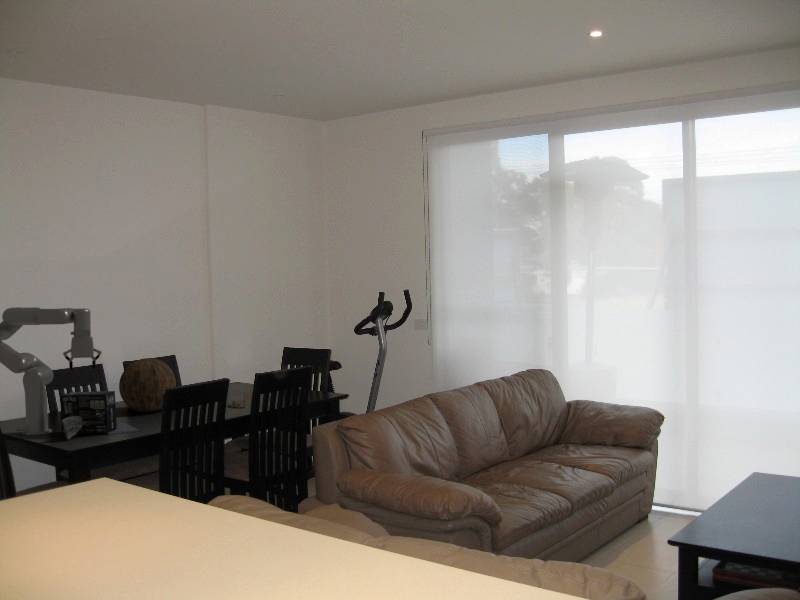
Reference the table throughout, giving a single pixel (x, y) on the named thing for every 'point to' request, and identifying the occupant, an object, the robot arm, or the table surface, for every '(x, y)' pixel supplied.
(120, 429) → the mat
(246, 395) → the dollhouse furniture set
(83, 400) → the box
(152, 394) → the decorative sphere
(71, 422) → the ceramic fragment
